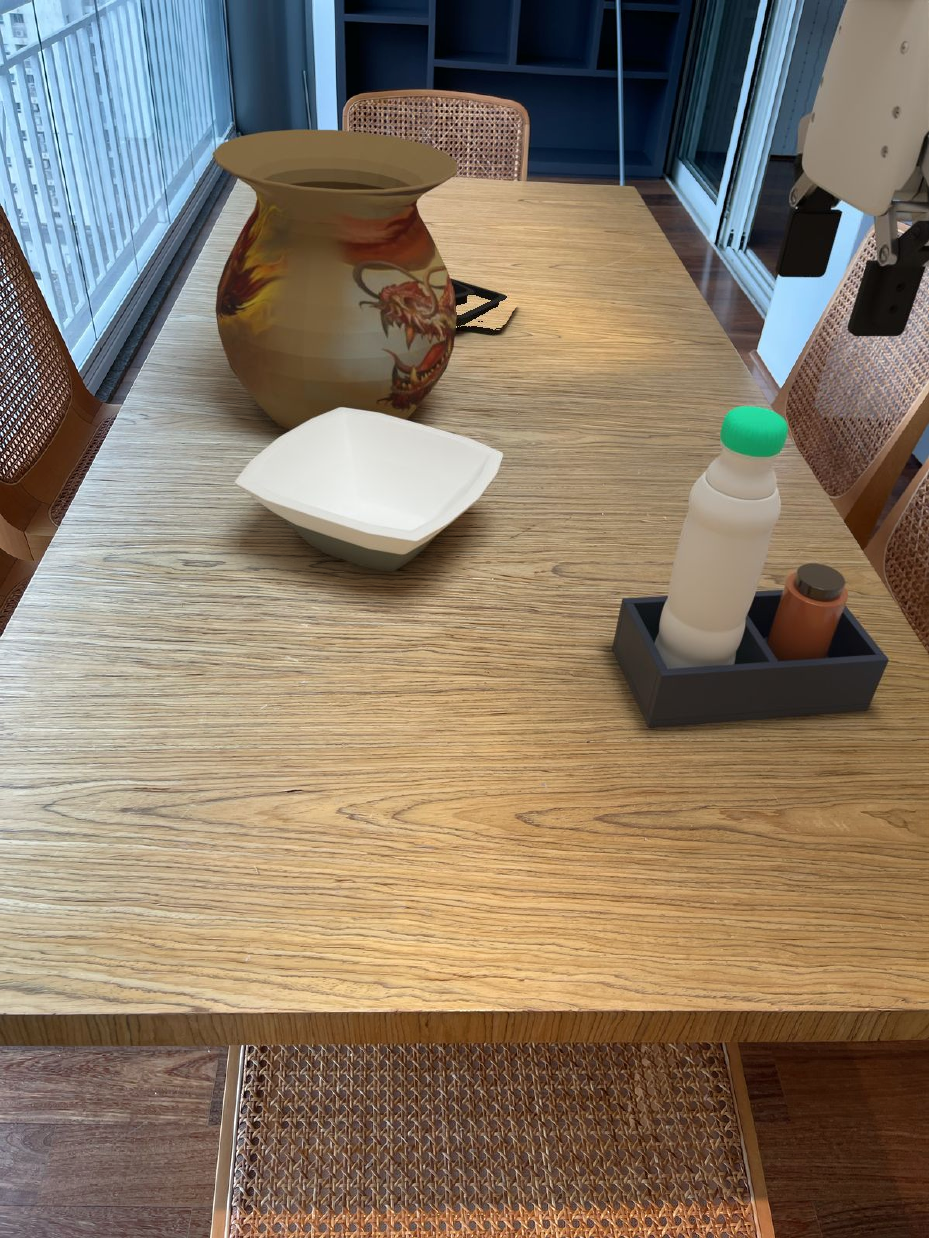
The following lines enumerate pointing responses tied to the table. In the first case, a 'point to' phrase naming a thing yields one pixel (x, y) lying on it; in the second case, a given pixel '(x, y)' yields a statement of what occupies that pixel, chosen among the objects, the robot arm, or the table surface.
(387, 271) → the vase
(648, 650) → the divided storage box
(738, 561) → the water bottle
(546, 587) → the table surface
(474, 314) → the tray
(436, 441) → the bowl
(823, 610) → the spice jar
